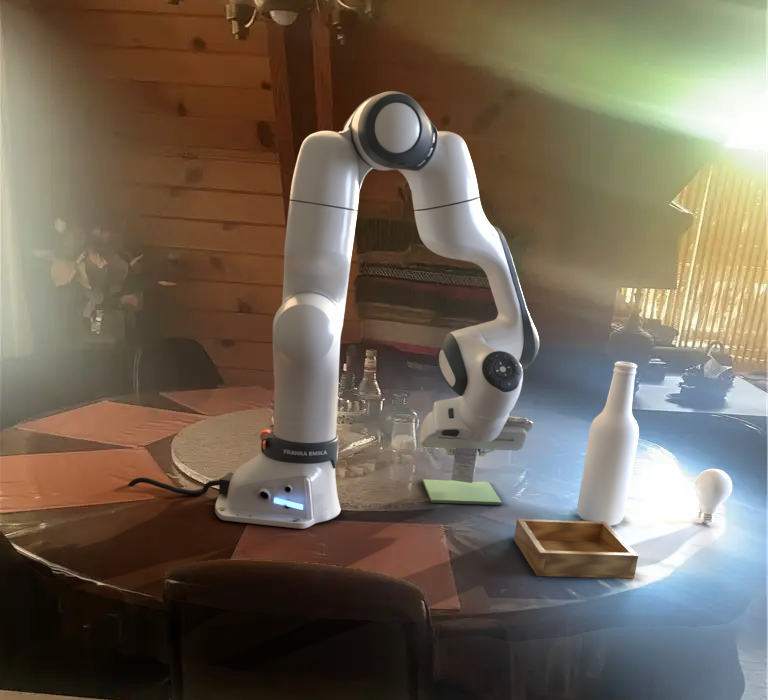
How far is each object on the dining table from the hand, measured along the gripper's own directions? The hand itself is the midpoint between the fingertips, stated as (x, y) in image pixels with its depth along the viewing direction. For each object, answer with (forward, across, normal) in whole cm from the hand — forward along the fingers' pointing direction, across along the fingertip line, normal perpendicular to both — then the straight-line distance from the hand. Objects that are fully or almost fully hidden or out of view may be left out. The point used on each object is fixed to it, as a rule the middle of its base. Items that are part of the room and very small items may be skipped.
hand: (465, 452), depth 151 cm
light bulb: (-3, -46, +15) cm, 48 cm away
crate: (-16, -13, +28) cm, 34 cm away
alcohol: (-2, -25, +14) cm, 29 cm away
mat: (+6, 0, +6) cm, 8 cm away
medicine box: (+3, 0, +4) cm, 5 cm away
